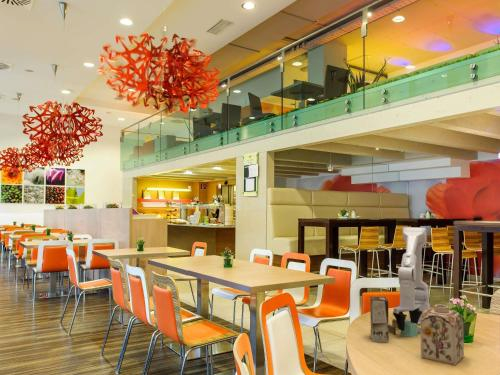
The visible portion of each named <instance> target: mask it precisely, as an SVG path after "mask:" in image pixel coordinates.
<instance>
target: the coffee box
mask: <svg viewBox="0 0 500 375" xmlns="http://www.w3.org/2000/svg"><path fill="white" fill-rule="evenodd" d="M369 300H370V302H369V304H370V337H371V340H372V342H373V343H374V342H375V343H376V342H377V343H378V342H379V343H386V344H387V343H389V336H390V333H389V331H388V325H389V299H387V296H370V298H369Z"/></svg>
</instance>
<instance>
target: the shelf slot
mask: <svg viewBox="0 0 500 375" xmlns="http://www.w3.org/2000/svg"><path fill="white" fill-rule="evenodd" d="M391 320H392V321H391V324H392V325H391V324H388V331H389V334H391V335H396V334H397V332H396V331H397V329H399V328H398V324H397V321H396V318H394V319H393V318H392V319H391Z"/></svg>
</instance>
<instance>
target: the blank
mask: <svg viewBox="0 0 500 375" xmlns="http://www.w3.org/2000/svg"><path fill="white" fill-rule="evenodd" d="M417 327H418V324H416V323H412V322H409V321H406V320H405V328H404V331H402V330H400V335H402V336H405V337H409V338H415V337H418V334H417Z"/></svg>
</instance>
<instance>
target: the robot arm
mask: <svg viewBox="0 0 500 375" xmlns="http://www.w3.org/2000/svg"><path fill="white" fill-rule="evenodd" d="M427 238H428V237H427V228H426V227H416V226H415V227H411V226H408V227H407V226H404V227H403V228H402V239H403V241H404V242H405V244H406V246H405V247H406V248H405V249H406V250H405V252H404V253H403V254H402V258H401V264H400V267H398V271H397V277H398V284H399V304H398V306H395V307H393V311H392V315H393V316H394V319H395V320H396V321H397V324H398V328H397V329H398V330H399V331H401V330H402V331H404V328H405V321H409V322H412V323H416V324H417V325H421V317H422V315H423V313H424V311H425V310H427V309H431V308H432V307H431V305H430V303H429V301H430V300H429V299H430V291H429V285H428V284H427V283H426V282H424V281H423V271H422V270H423V268H422V267H423V264H422V263H423V262H422V261H423V260H422V259H423V258H422V257H423V255H422V252H423V247H424V246H426V245H427V242H428V241H427ZM407 312H408V316H407V314H405V313H407ZM407 317H408V318H407Z"/></svg>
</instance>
